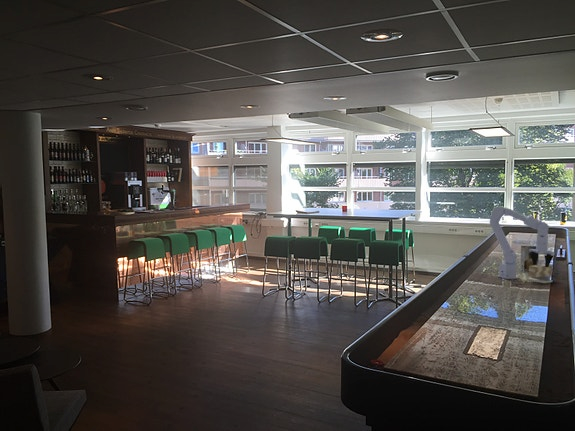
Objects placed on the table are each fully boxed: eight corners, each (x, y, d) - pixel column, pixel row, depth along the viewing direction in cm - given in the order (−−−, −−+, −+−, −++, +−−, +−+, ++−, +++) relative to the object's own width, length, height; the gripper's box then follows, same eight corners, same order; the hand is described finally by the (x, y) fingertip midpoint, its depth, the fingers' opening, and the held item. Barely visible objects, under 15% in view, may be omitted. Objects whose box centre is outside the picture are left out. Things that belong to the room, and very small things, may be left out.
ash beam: (534, 277, 262) (534, 267, 262) (528, 276, 265) (529, 266, 265) (551, 275, 269) (552, 265, 269) (546, 274, 272) (546, 264, 272)
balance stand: (543, 283, 261) (543, 277, 261) (527, 279, 270) (528, 274, 270) (552, 281, 265) (552, 276, 264) (536, 278, 274) (536, 273, 273)
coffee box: (533, 269, 302) (535, 245, 301) (538, 271, 296) (539, 247, 295) (519, 269, 303) (520, 245, 302) (523, 271, 297) (524, 246, 296)
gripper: (558, 244, 261) (557, 267, 262) (535, 241, 274) (533, 263, 275) (550, 244, 258) (549, 268, 259) (527, 241, 271) (526, 264, 272)
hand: (540, 265), depth 267 cm, fingers open, 7 cm apart
